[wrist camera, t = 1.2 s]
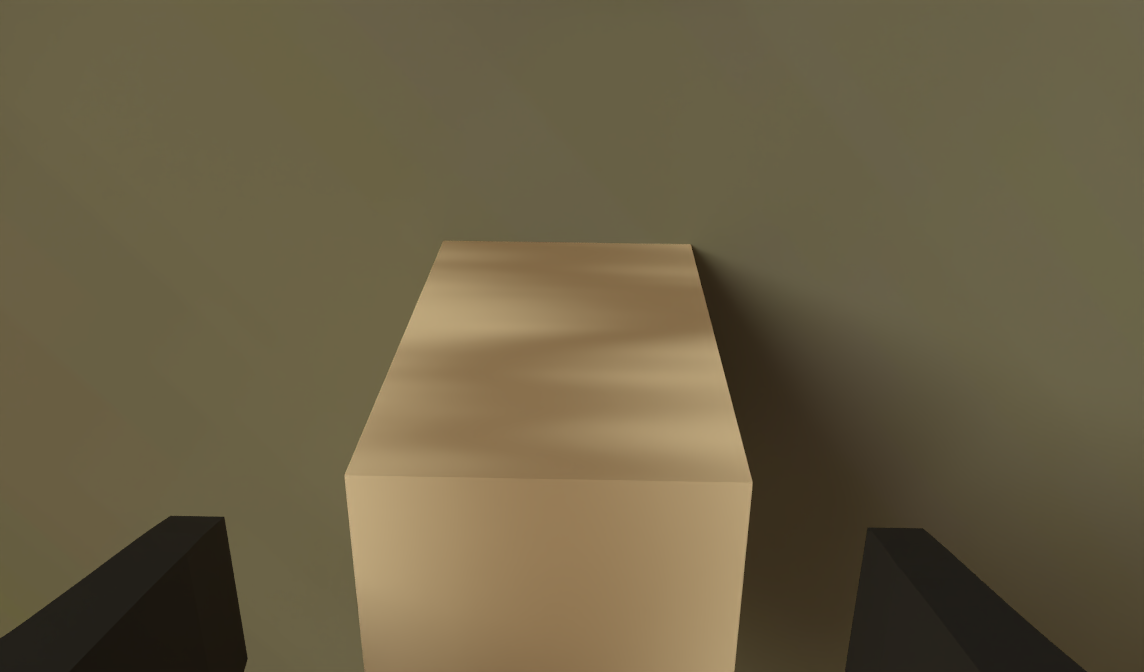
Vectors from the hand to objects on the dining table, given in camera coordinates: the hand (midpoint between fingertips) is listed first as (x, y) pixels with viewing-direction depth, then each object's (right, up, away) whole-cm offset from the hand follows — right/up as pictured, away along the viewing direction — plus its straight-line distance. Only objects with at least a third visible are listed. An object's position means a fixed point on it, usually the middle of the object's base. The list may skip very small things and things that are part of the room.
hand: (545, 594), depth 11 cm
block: (0, +3, +6) cm, 6 cm away
